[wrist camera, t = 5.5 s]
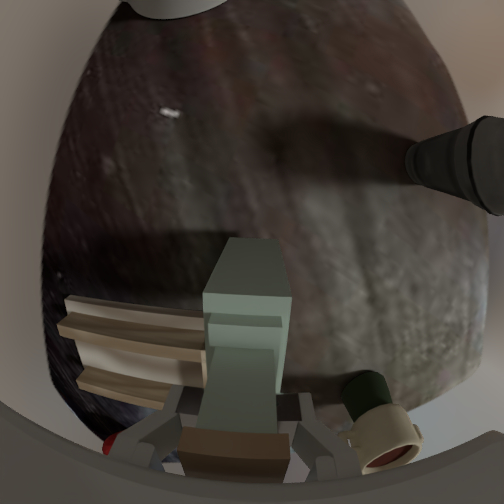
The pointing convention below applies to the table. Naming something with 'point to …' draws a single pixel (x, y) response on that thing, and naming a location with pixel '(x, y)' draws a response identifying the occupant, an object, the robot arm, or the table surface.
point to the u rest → (135, 349)
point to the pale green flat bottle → (242, 368)
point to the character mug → (378, 425)
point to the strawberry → (109, 443)
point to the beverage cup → (463, 163)
